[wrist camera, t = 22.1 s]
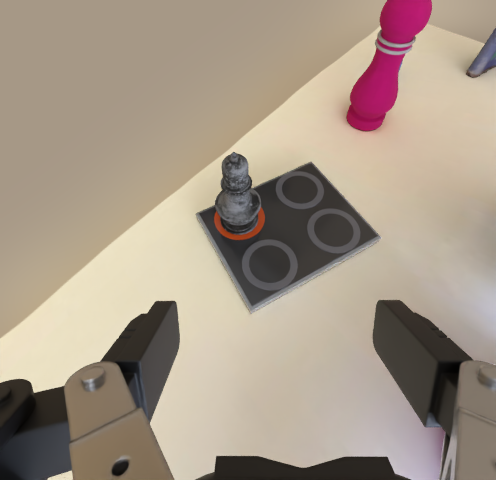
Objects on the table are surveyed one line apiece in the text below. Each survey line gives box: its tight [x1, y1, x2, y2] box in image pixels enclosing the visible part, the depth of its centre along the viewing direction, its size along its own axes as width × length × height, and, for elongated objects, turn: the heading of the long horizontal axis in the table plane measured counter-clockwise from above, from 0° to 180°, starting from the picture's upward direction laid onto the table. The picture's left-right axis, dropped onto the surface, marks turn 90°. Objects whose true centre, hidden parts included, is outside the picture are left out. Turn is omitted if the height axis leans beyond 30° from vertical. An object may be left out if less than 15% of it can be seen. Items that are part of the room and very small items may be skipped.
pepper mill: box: [347, 0, 432, 131], centre depth 42 cm, size 7×7×20 cm
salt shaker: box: [215, 152, 261, 235], centre depth 34 cm, size 6×6×12 cm
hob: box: [196, 162, 381, 314], centre depth 39 cm, size 20×16×2 cm
